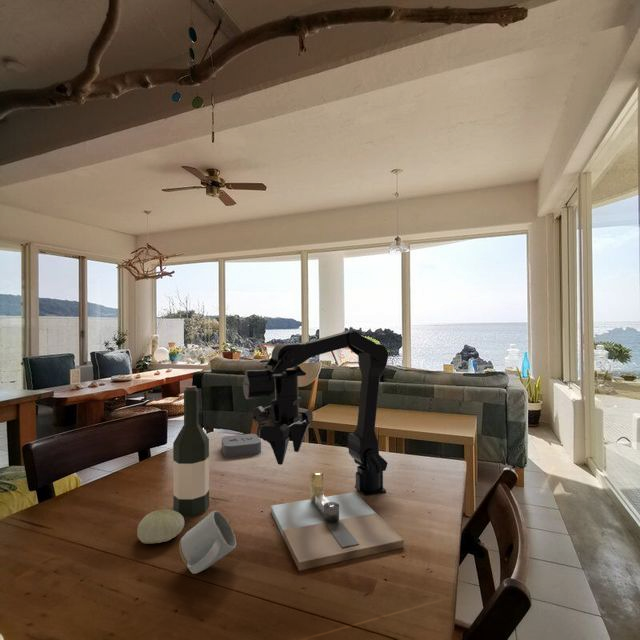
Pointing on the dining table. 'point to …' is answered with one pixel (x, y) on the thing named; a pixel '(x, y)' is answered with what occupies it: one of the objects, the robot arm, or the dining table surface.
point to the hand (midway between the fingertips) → (288, 457)
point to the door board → (333, 531)
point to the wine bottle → (191, 461)
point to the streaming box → (241, 445)
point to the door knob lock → (322, 498)
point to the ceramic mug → (207, 542)
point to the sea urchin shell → (160, 526)
